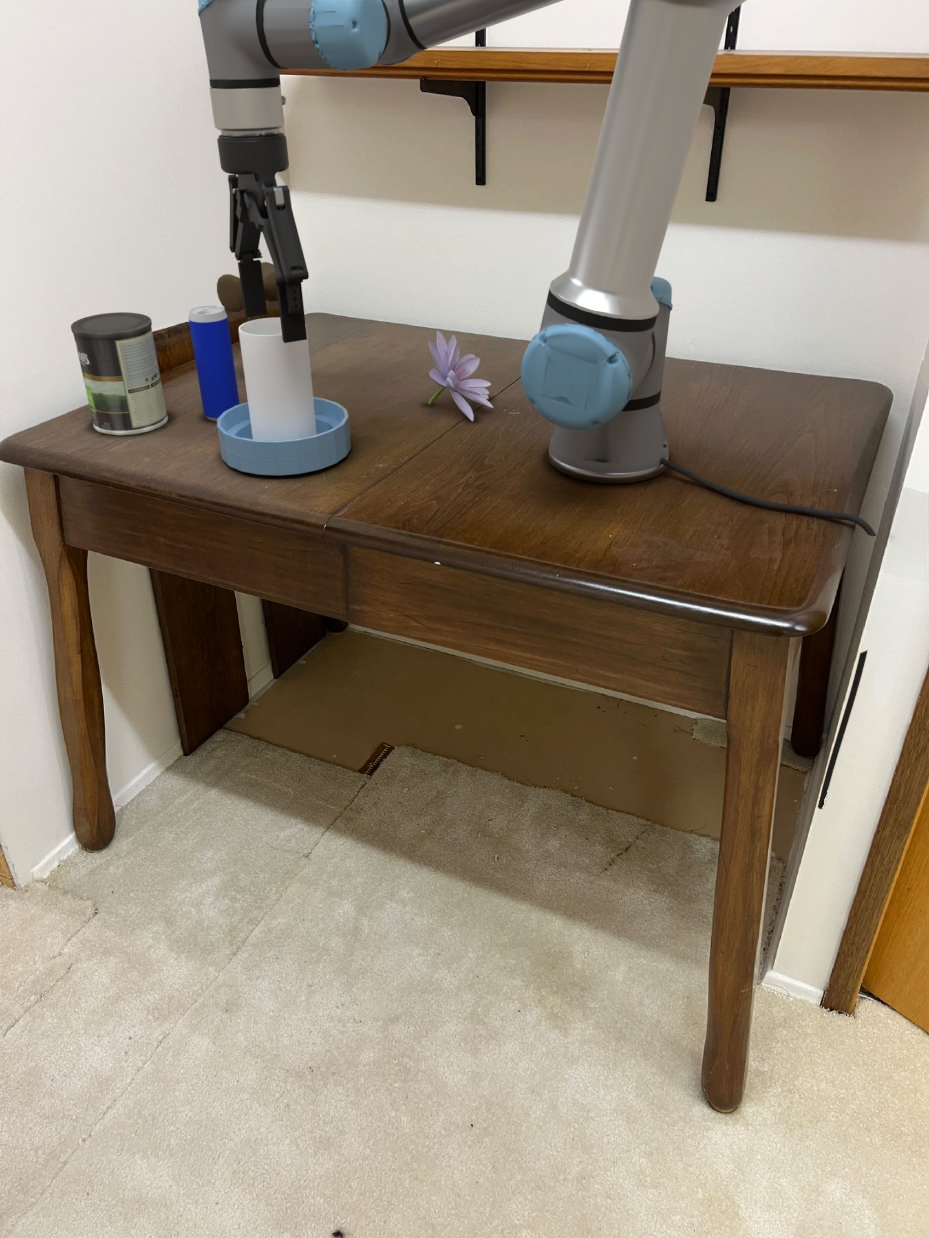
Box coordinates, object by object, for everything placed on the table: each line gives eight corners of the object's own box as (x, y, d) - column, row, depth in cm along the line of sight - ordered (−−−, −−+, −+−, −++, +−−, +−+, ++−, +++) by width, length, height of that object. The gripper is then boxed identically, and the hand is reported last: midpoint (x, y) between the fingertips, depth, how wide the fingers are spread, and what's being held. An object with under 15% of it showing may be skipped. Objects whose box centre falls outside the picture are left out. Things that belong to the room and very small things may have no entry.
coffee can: (95, 440, 127) (71, 336, 120) (92, 415, 136) (69, 316, 128) (172, 430, 130) (154, 328, 123) (165, 406, 139) (147, 309, 131)
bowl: (371, 463, 121) (369, 425, 118) (246, 490, 114) (241, 451, 111) (321, 422, 133) (318, 388, 130) (206, 445, 126) (200, 409, 123)
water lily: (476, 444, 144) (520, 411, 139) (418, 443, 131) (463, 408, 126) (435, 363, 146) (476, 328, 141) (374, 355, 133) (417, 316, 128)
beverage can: (222, 407, 138) (206, 303, 130) (248, 413, 136) (234, 308, 128) (196, 418, 134) (179, 311, 126) (223, 425, 132) (207, 317, 124)
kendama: (294, 370, 153) (281, 240, 142) (254, 386, 146) (237, 251, 135) (266, 364, 156) (251, 236, 145) (226, 380, 149) (207, 247, 138)
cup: (312, 462, 119) (300, 335, 111) (248, 461, 120) (231, 335, 111) (322, 438, 126) (311, 317, 118) (261, 437, 126) (246, 317, 118)
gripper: (326, 138, 95) (344, 347, 107) (247, 122, 114) (269, 302, 125) (256, 143, 92) (281, 358, 103) (185, 126, 111) (214, 309, 122)
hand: (274, 327), depth 114 cm, fingers open, 13 cm apart
